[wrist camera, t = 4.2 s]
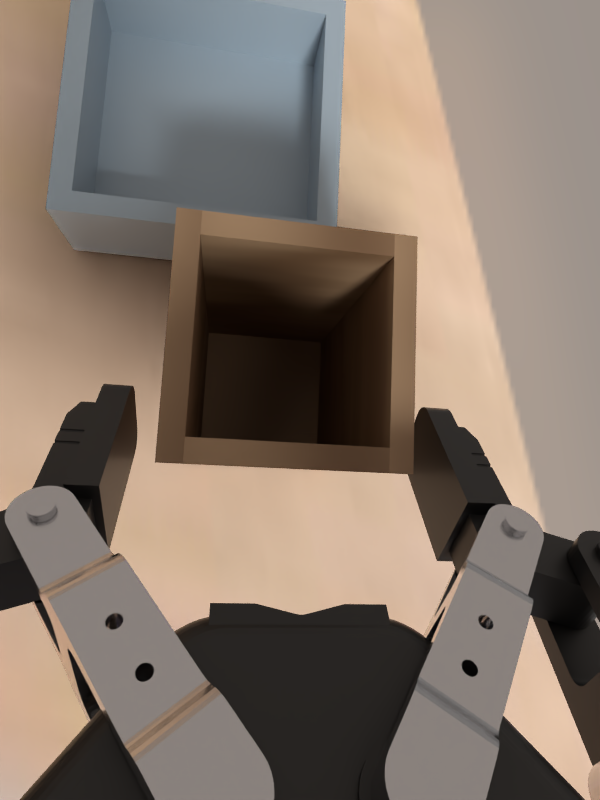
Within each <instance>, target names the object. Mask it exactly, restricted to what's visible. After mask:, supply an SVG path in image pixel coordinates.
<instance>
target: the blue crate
mask: <svg viewBox="0 0 600 800" xmlns="http://www.w3.org/2000/svg"><path fill="white" fill-rule="evenodd" d="M345 7H346V1H344V0H71V3H70V11H69V20H68V28H67V36H66V44H65V53H64V61H63V69H62V77H61V86H60V94H59V102H58V111H57V119H56V127H55V135H54V144H53V152H52V160H51V168H50V177H49V185H48V193H47V202H46V210H47V211H48V213H49V214H50V216H51V217H52V219H53V220H54V222H55V223H56V225H57V226H58V227H59V229H60V230H61V232H62V233H63V235H64V236H65V238H66V239H67V241H68V242H69V243H70V245H71V246H72V248H73V249H74V250H80V251H90V252H99V253H108V254H118V255H127V256H137V257H146V258H155V259H165V260H172V256H173V244H174V233H175V221H176V209H177V207H179V208H187V209H195V210H203V211H211V212H219V213H228V214H236V215H244V216H252V217H260V218H268V219H277V220H285V221H293V222H301V223H309V224H317V225H326V226H334V227H337V209H338V184H339V159H340V134H341V108H342V83H343V58H344V33H345Z"/></svg>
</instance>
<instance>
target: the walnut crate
mask: <svg viewBox="0 0 600 800" xmlns="http://www.w3.org/2000/svg"><path fill="white" fill-rule="evenodd" d="M416 291H417V237H415V236H407V235H399V234H391V233H383V232H375V231H366V230H358V229H350V228H342V227H334V226H326V225H317V224H309V223H301V222H293V221H285V220H277V219H268V218H260V217H252V216H244V215H236V214H228V213H219V212H211V211H203V210H195V209H187V208H179V207H177V209H176V221H175V233H174V244H173V256H172V268H171V280H170V292H169V304H168V315H167V327H166V339H165V351H164V363H163V375H162V386H161V398H160V410H159V422H158V434H157V446H156V458H155V462H160V463H181V464H203V465H224V466H246V467H267V468H289V469H310V470H332V471H354V472H375V473H397V474H413V466H414V408H415V349H416Z"/></svg>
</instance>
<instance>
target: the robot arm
mask: <svg viewBox="0 0 600 800" xmlns="http://www.w3.org/2000/svg"><path fill="white" fill-rule="evenodd" d="M136 443H137V420H136V405H135V391H134V387H133V386H125V385H111V384H104V385H103V386H102V388H101V391H100V393H99V396H98V398H97V401H96V403H94V402H80V403H79V404H78V405H77V406H75V407H74V408H73V409H72V410H71V411H70V412H68V413H67V415H66V417H65V419H64V421H63V423H62V426H61V428H60V431H59V432H58V434H57V436H56V439H55V443H53V445H52V447H51V449H50V452H49V454H48V456H47V458H46V460H45V462H44V465H43V467H42V469H41V471H40V473H39V476H38V478H37V480H36V482H35V484H34V486H33V488H32V489H30V490H28V491H26V492H24V493H22V494H21V495H19V496H18V497H17V498H15V499H14V500H13V501H12V502H11V503H10V505H9V506H8V508H7V509H6V510H3V511H1V512H0V611H1V610H5V609H9V608H12V607H16V606H19V605H23V604H27V603H30V602H32V603H33V605H34V607H35V609H36V611H37V613H38V615H39V617H40V619H41V621H42V623H43V625H44V627H45V629H46V631H47V633H48V635H49V637H50V639H51V641H52V644H53V646H54V648H55V650H56V652H57V654H58V656H59V658H60V660H61V662H62V664H63V666H64V669H65V671H66V674H67V676H68V679H69V681H70V683H71V686H72V688H73V690H74V693H75V695H76V697H77V699H78V701H79V703H80V705H81V707H82V709H83V711H84V713H85V715H86V717H87V719H88V721H89V723H88V724H87V725H86V726H85V727H84V728H83V729H82V730H81V732H80V733H79V734H78V735H77V736H76V737H75V738H74V739H73V741H72V742H71V743H70V744H69V745H68V746H67V747H66V748H65V749H64V751H63V752H62V753H61V754H60V755H59V756H58V757H57V758H56V760H55V761H54V762H53V763H52V764H51V765H50V766H49V767H48V769H47V770H46V771H45V772H44V773H43V774H42V775H41V776H40V778H39V779H38V780H37V781H36V782H35V783H34V784H33V785H32V786H31V788H30V789H29V790H28V791H27V792H26V793H25V794H24V795H23V797H22V798H21V799H20V800H585V799H584V798H583V797H582V796H581V795H580V794H579V793H578V792H577V791H576V790H575V789H574V788H573V787H572V786H571V785H570V784H569V783H568V782H567V781H566V780H565V779H564V778H563V777H562V776H561V775H560V774H559V773H558V772H557V771H556V770H555V769H554V767H553V766H552V765H551V764H550V763H549V762H548V761H547V760H546V759H545V758H544V757H543V756H542V755H541V754H540V753H539V752H538V751H537V750H536V749H535V748H534V747H533V746H532V745H531V744H530V743H529V742H528V741H527V740H526V739H525V738H524V737H523V736H522V735H521V734H520V733H519V732H518V731H517V730H516V728H515V727H514V726H513V725H512V724H511V723H510V722H509V721H508V720H507V719H506V718H505V717H504V716H503V713H504V710H505V706H506V702H507V699H508V695H509V691H510V687H511V684H512V680H513V676H514V673H515V669H516V665H517V662H518V658H519V654H520V651H521V647H522V643H523V639H524V636H525V632H526V628H527V625H528V621H529V617H530V615H532V617H533V619H534V622H535V624H536V627H537V629H538V632H539V634H540V637H541V639H542V642H543V644H544V647H545V649H546V651H547V654H548V656H549V659H550V661H551V664H552V666H553V669H554V671H555V674H556V676H557V679H558V681H559V684H560V686H561V689H562V691H563V693H564V696H565V698H566V701H567V703H568V706H569V708H570V711H571V713H572V716H573V718H574V721H575V723H576V726H577V728H578V730H579V733H580V735H581V738H582V740H583V743H584V745H585V748H586V750H587V753H588V755H589V758H590V760H591V763H592V765H593V767H592V769H591V771H590V773H589V778H588V787H589V793H590V797H591V800H600V629H599V627H598V625H597V623H596V622H595V618H596V617H597V618H598V620H599V622H600V532H597V531H585V532H583V533H581V534H580V535H579V537H578V538H577V539H576V541H575V542H574V541H571V540H567V539H564V538H560V537H558V536H554V535H551V534H548V533H545V532H543V531H542V528H541V527H540V525H539V524H538V522H537V521H536V520H535V519H534V518H533V517H532V516H531V515H530V514H528V513H527V512H525V511H524V510H522V509H520V508H518V507H515V506H512V505H511V503H510V501H509V499H508V497H507V495H506V493H505V491H504V489H503V487H502V486H501V484H500V482H499V480H498V478H497V476H496V474H495V472H494V470H493V468H492V467H490V463H489V461H488V459H487V457H486V456H484V454H485V453H484V451H483V449H482V448H481V446H480V444H479V442H478V440H477V439H476V438H475V437H474V436H473V435H472V434H471V433H470V432H469V431H468V430H467V429H466V428H464V427H458V426H457V424H456V422H455V420H454V418H453V416H452V413H451V412H450V411H449V410H448V409H439V408H425V407H423V408H421V409H420V410H419V412H418V415H417V417H416V420H415V423H414V466H413V474H408V476H409V479H410V482H411V485H412V488H413V491H414V494H415V497H416V500H417V503H418V506H419V509H420V512H421V515H422V518H423V521H424V524H425V527H426V530H427V533H428V536H429V538H430V541H431V544H432V547H433V550H434V553H435V556H436V559H437V561H453V563H454V566H455V570H454V572H453V573H452V575H451V577H450V580H449V582H448V584H447V586H446V588H445V591H444V593H443V595H442V597H441V599H440V602H439V604H438V606H437V608H436V610H435V613H434V615H433V617H432V619H431V621H430V623H429V626H428V628H427V630H426V632H425V634H424V635H421V634H420V633H418V632H417V631H415V630H414V629H412V628H410V627H408V626H407V625H405V624H402V623H400V622H397V621H395V620H392V619H389V616H388V611H387V607H386V605H365V604H344V605H340V606H336V607H332V608H329V609H325V610H321V611H317V612H313V613H309V614H305V615H298V614H293V613H290V612H286V611H282V610H278V609H274V608H270V607H266V606H262V605H259V604H239V603H210V615H209V617H207V618H203V619H199V620H197V621H194V622H192V623H189V624H187V625H185V626H183V627H181V628H179V629H178V630H176V631H175V632H174V631H173V629H172V628H171V626H170V625H169V623H168V622H167V620H166V619H165V617H164V616H163V614H162V613H161V611H160V610H159V608H158V607H157V605H156V604H155V602H154V601H153V599H152V598H151V596H150V595H149V593H148V592H147V590H146V589H145V587H144V586H143V584H142V583H141V581H140V580H139V578H138V577H137V575H136V574H135V572H134V571H133V569H132V568H131V566H130V565H129V563H128V562H127V561H126V559H125V558H124V557H123V556H122V555H121V554H119V553H118V554H116V555H114V554H113V553H112V552H111V551H110V549H109V548H110V545H111V541H112V537H113V533H114V530H115V526H116V522H117V518H118V514H119V511H120V507H121V503H122V499H123V496H124V492H125V488H126V484H127V480H128V477H129V473H130V469H131V465H132V462H133V458H134V454H135V450H136Z"/></svg>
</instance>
